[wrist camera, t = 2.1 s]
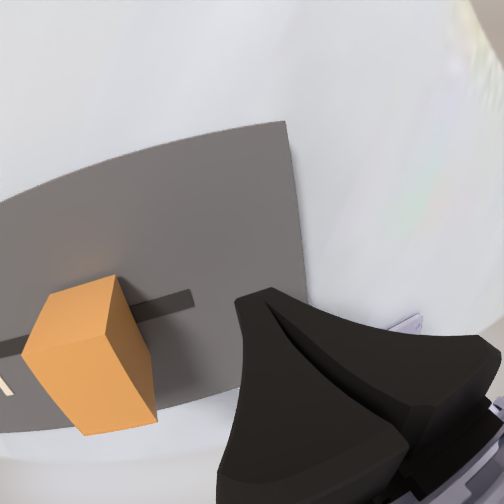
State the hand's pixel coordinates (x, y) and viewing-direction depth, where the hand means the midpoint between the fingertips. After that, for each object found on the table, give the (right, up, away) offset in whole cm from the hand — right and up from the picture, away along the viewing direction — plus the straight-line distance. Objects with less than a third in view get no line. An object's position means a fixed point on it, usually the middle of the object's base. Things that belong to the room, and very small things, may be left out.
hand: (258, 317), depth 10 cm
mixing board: (-10, -1, +2) cm, 10 cm away
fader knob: (-6, -1, +1) cm, 6 cm away
